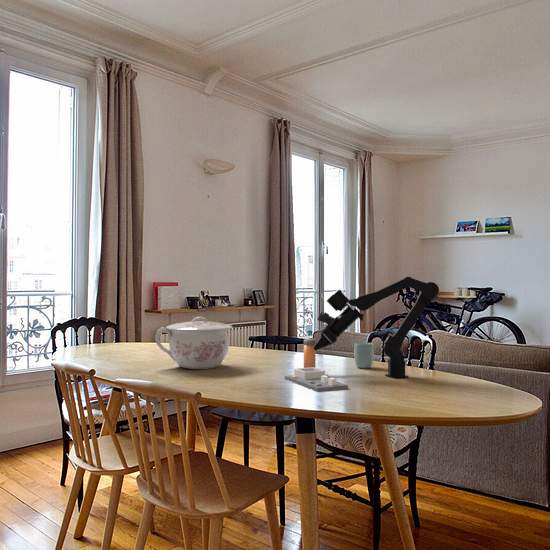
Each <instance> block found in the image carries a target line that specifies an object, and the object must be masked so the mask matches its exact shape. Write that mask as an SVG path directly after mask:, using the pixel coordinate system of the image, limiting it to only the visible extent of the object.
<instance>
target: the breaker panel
mask: <svg viewBox="0 0 550 550" xmlns="http://www.w3.org/2000/svg"><path fill="white" fill-rule="evenodd" d="M293 370H294V371H293V374H288V375H284V380H286V381H288V380H289V382H291V381H292V382H291V383H294V384H297V385H299V386H301V387H304V388H307V389H309V390H311V389H312V391H314V392H316V391H317V392H327V391H329V392H330V391H340V390H348V389H349V384H347V383H346V384H345V383H343V382H340V381H337V379H336V378H334V377H329V376H327V375H326V370H324V369H320V368H317V367H316V368H315V367H311V368H304V367H300V368H297V367H296V368H294V369H293Z"/></svg>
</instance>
